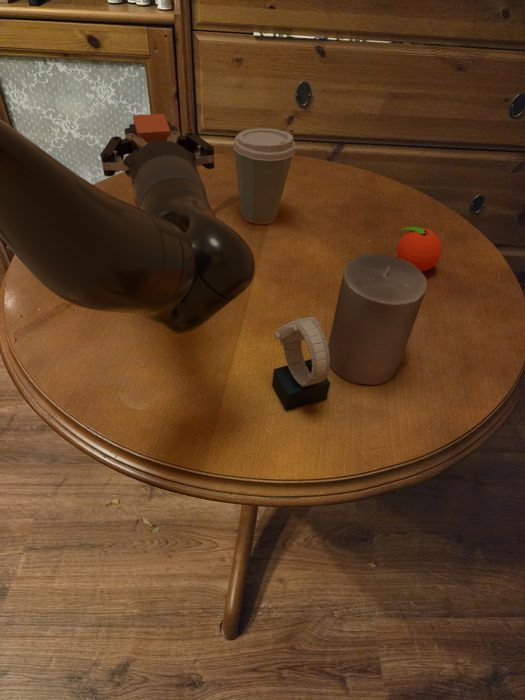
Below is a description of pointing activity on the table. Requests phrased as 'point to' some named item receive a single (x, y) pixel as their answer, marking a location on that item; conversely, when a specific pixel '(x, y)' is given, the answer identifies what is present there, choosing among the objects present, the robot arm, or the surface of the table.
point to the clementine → (420, 248)
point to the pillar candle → (374, 317)
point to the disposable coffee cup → (262, 171)
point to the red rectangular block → (151, 127)
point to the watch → (302, 365)
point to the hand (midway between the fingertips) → (150, 130)
